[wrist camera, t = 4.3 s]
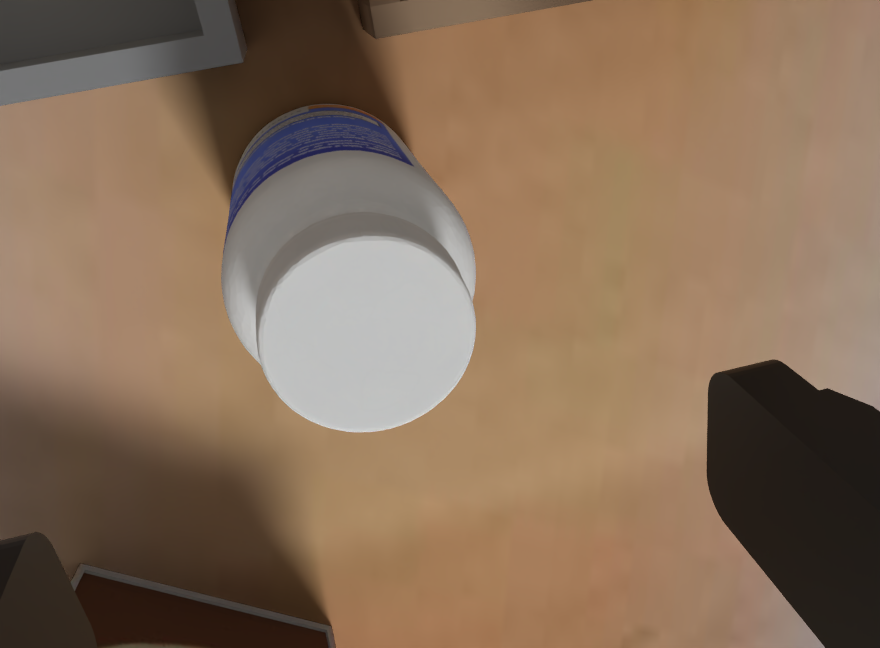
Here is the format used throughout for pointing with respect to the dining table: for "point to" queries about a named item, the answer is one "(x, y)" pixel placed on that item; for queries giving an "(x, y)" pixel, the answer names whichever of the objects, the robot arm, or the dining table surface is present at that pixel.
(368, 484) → the dining table surface
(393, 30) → the tray right
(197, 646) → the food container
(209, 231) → the dining table surface
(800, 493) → the robot arm
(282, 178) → the pill bottle
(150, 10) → the tray left
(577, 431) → the dining table surface
